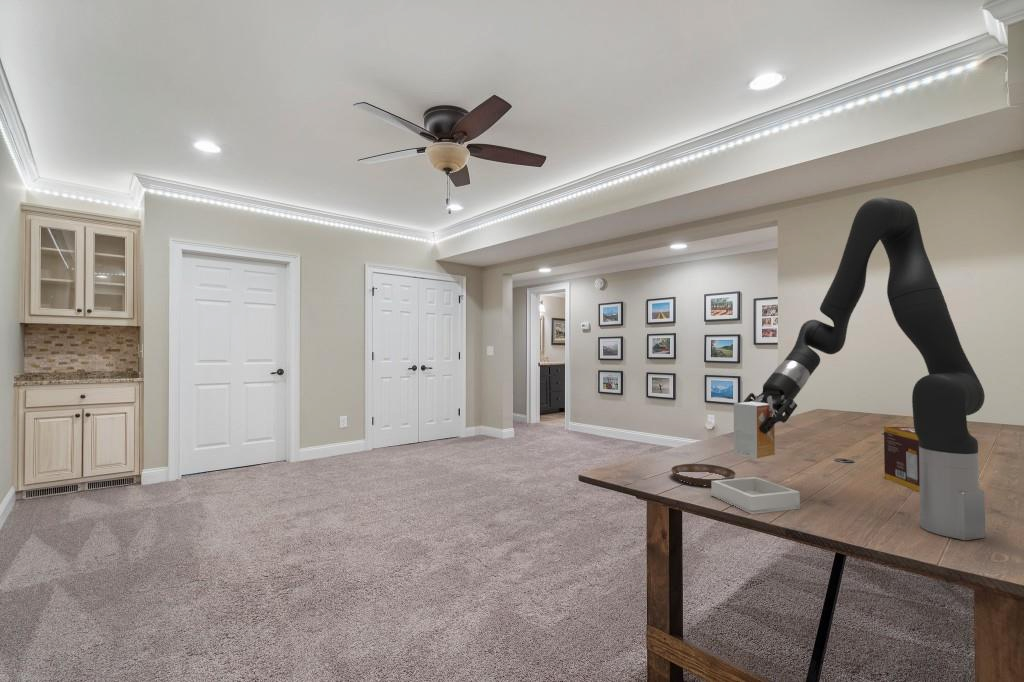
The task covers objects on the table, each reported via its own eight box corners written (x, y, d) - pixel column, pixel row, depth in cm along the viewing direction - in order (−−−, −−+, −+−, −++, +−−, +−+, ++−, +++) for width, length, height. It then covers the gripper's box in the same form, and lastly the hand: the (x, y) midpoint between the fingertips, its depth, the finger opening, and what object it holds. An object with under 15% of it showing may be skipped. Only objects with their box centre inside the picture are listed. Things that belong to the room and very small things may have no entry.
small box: (757, 459, 115) (756, 405, 116) (733, 454, 121) (732, 403, 121) (775, 455, 120) (775, 403, 120) (751, 450, 125) (750, 400, 125)
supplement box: (920, 478, 141) (920, 425, 141) (965, 494, 125) (964, 435, 126) (883, 477, 142) (882, 425, 142) (922, 493, 126) (921, 434, 127)
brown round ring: (671, 486, 134) (671, 475, 134) (670, 471, 151) (670, 461, 151) (740, 491, 129) (740, 480, 129) (731, 475, 146) (731, 465, 146)
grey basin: (799, 508, 115) (799, 491, 115) (751, 514, 111) (751, 496, 111) (755, 491, 128) (755, 476, 128) (711, 496, 124) (711, 480, 125)
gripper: (756, 370, 129) (721, 414, 126) (801, 373, 115) (762, 422, 112) (773, 389, 131) (738, 433, 127) (819, 394, 117) (781, 444, 114)
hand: (749, 428), depth 120 cm, fingers closed on small box, 8 cm apart
